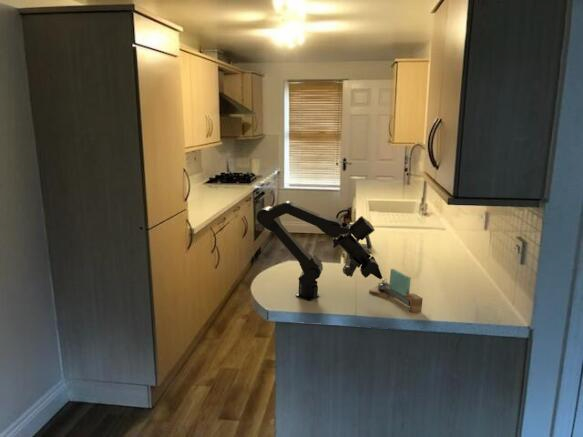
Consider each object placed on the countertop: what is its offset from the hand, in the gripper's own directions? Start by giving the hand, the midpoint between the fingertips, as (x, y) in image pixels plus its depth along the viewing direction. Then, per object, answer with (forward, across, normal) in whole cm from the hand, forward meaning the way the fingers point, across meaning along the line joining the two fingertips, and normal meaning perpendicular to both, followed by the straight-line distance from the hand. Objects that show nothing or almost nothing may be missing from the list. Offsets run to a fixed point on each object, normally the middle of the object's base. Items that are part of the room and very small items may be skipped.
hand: (381, 277), depth 165 cm
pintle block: (+9, -8, -4) cm, 13 cm away
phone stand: (+10, -72, -3) cm, 73 cm away
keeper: (+14, +7, +1) cm, 15 cm away
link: (+10, -2, -1) cm, 10 cm away
